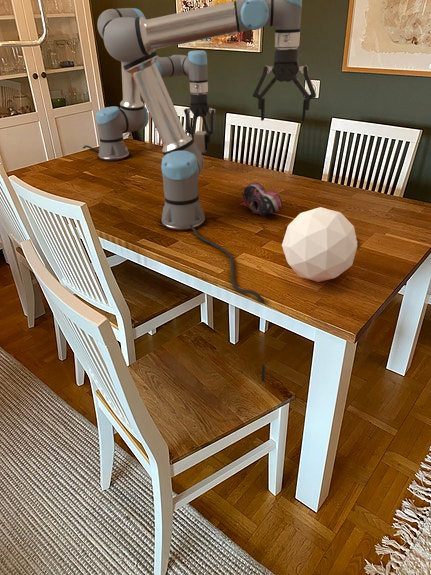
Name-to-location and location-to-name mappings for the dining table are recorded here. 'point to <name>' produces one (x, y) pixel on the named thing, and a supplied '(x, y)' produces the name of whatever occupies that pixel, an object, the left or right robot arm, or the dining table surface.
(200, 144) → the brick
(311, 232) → the sphere
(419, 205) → the dining table surface
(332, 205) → the dining table surface
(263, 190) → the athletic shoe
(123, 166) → the dining table surface
